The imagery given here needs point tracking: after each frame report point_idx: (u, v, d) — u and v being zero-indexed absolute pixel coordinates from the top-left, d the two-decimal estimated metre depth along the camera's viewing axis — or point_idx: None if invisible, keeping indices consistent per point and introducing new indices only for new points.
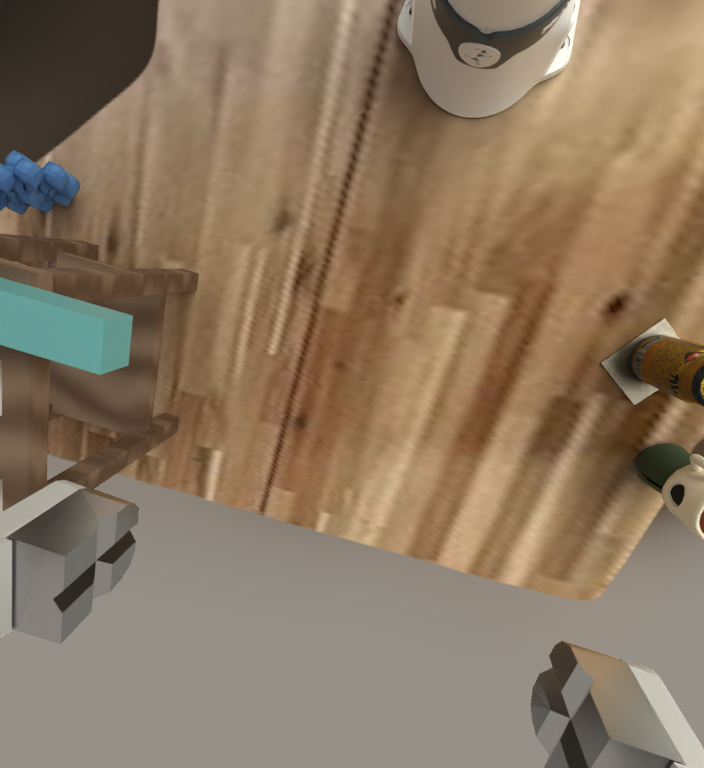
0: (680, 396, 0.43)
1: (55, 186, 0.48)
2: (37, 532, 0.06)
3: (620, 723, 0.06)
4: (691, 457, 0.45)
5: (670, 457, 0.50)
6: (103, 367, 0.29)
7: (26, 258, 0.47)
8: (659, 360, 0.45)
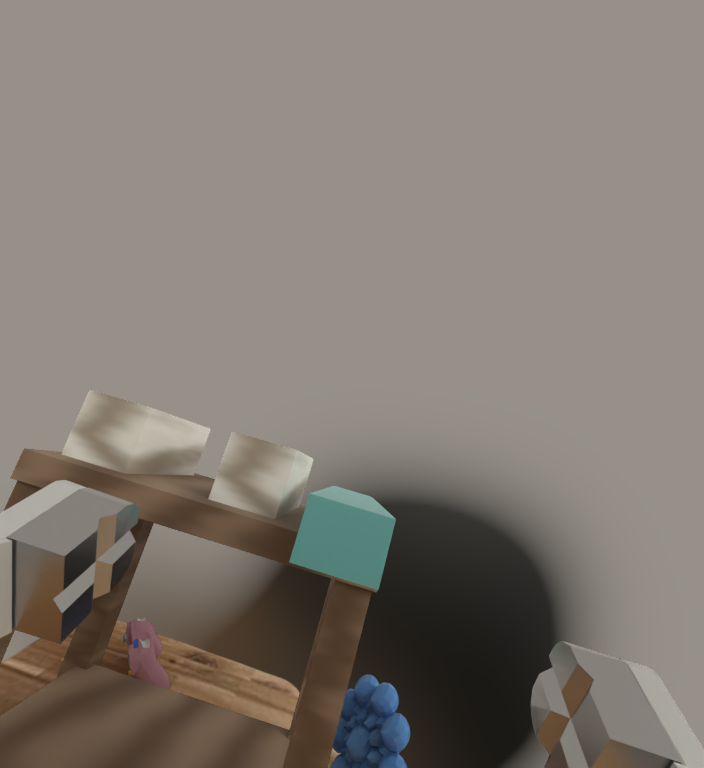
0: None
1: (381, 766, 0.36)
2: (37, 532, 0.06)
3: (620, 723, 0.06)
4: None
5: None
6: (318, 502, 0.18)
7: (304, 687, 0.37)
8: None
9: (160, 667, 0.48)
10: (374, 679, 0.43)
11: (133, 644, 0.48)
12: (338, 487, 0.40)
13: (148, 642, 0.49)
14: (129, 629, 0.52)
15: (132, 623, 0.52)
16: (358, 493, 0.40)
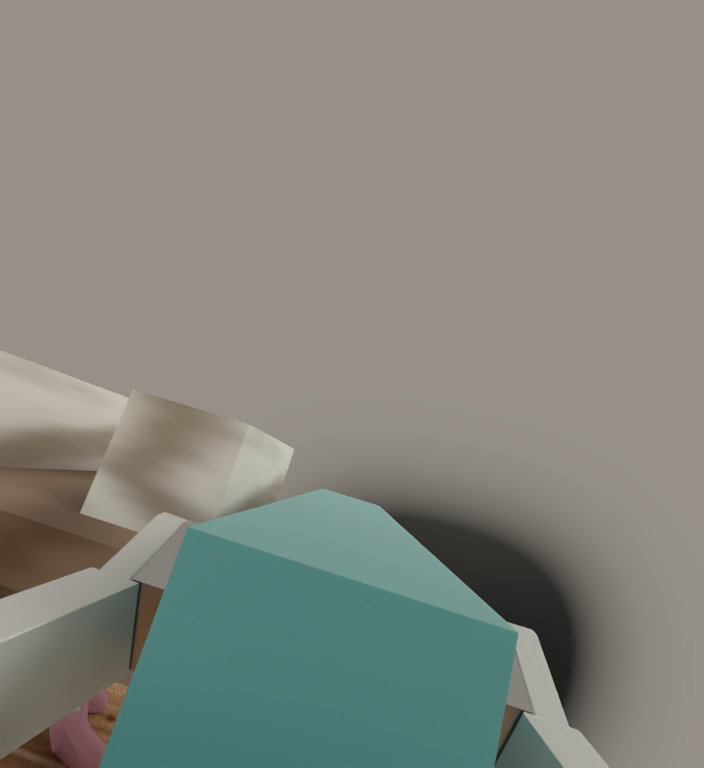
0: None
1: None
2: (159, 572, 0.06)
3: None
4: None
5: None
6: (218, 563, 0.05)
7: None
8: None
9: (94, 737, 0.35)
10: None
11: None
12: (329, 491, 0.27)
13: None
14: None
15: None
16: (359, 500, 0.26)
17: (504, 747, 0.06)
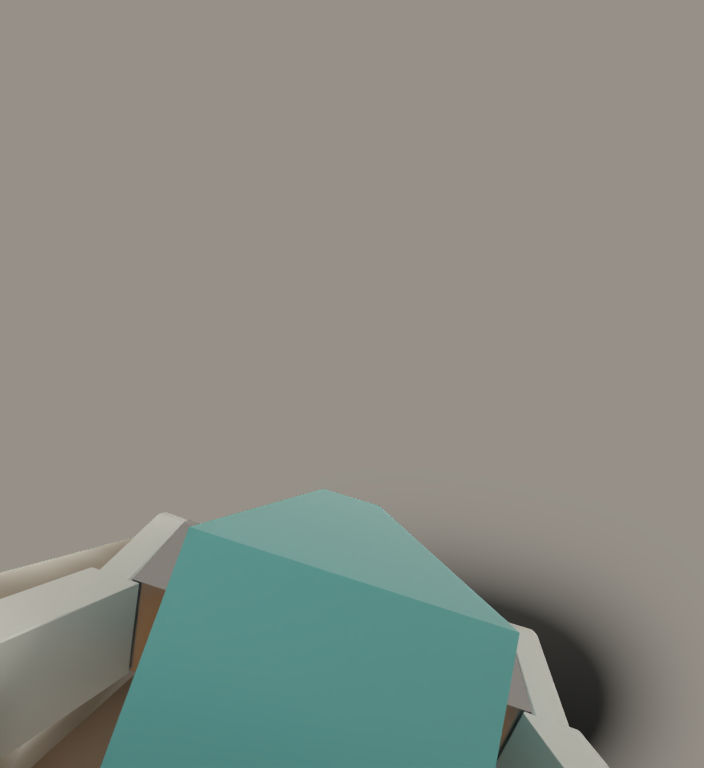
0: None
1: None
2: (159, 572, 0.06)
3: None
4: None
5: None
6: (219, 563, 0.05)
7: None
8: None
9: None
10: None
11: None
12: (330, 491, 0.27)
13: None
14: None
15: None
16: (360, 500, 0.26)
17: (504, 748, 0.06)
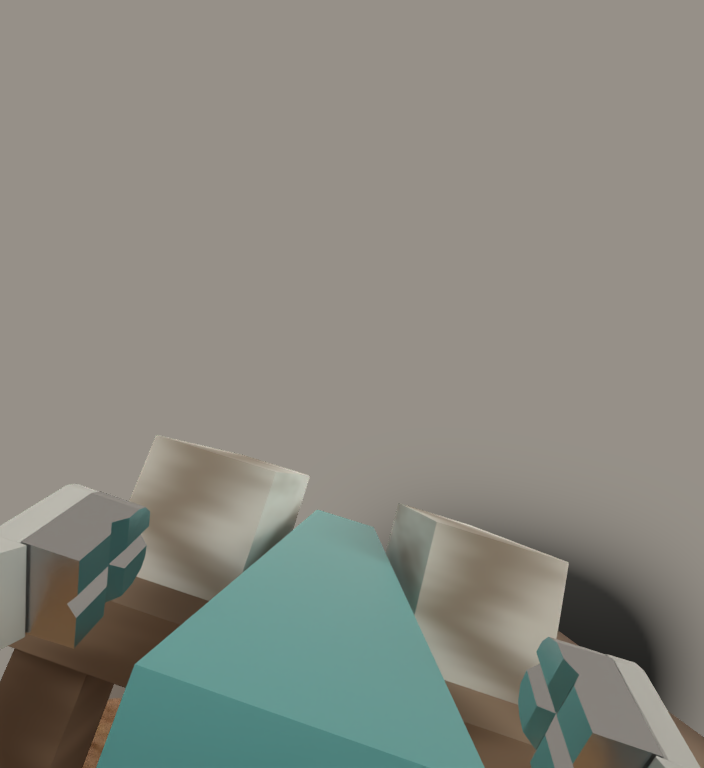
0: None
1: None
2: (50, 537, 0.06)
3: (603, 717, 0.06)
4: None
5: None
6: (166, 707, 0.04)
7: None
8: None
9: None
10: None
11: None
12: (323, 513, 0.26)
13: None
14: None
15: None
16: (353, 523, 0.26)
17: None
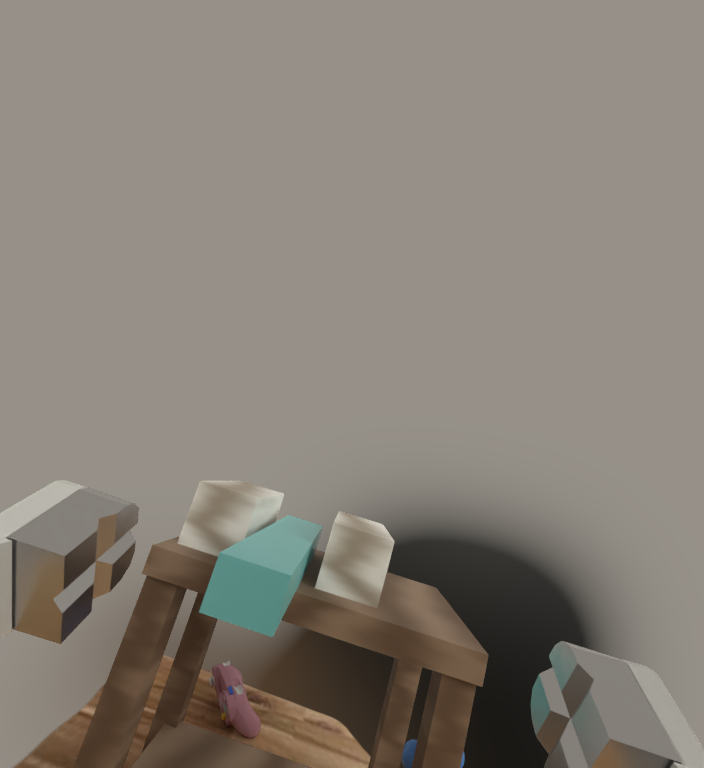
0: None
1: None
2: (38, 532, 0.06)
3: (620, 723, 0.06)
4: None
5: None
6: (226, 560, 0.21)
7: (381, 747, 0.40)
8: None
9: (253, 712, 0.53)
10: None
11: (228, 691, 0.52)
12: (291, 517, 0.44)
13: (241, 688, 0.53)
14: (217, 673, 0.57)
15: (221, 668, 0.56)
16: (309, 523, 0.43)
17: None
